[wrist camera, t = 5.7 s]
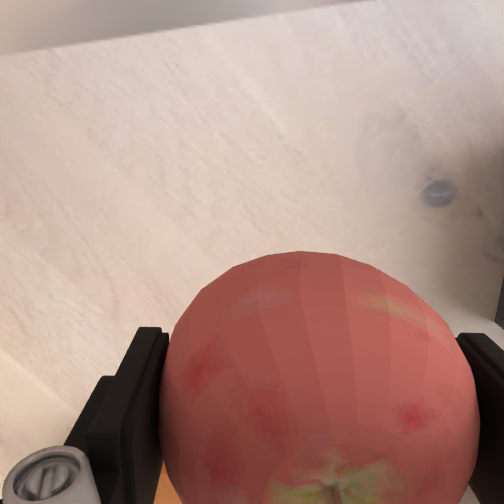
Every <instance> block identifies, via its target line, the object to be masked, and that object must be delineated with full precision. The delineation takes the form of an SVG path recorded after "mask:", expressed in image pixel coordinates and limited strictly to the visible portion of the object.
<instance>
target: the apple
mask: <svg viewBox="0 0 504 504" xmlns="http://www.w3.org/2000/svg"><path fill="white" fill-rule="evenodd" d="M158 434H159V439H160V444H161V449H162V454H163V459H164V463H165V467H166V471H167V475H168V478H169V480H170V481H171V483H172V485H173V487H174V489H175V491H176V493H177V495H178V497H179V498H180V500H181V502H182V504H458V503H459V502H460V500H461V498H462V496H463V494H464V492H465V490H466V487H467V485H468V483H469V480H470V478H471V475H472V473H473V471H474V468H475V464H476V460H477V455H478V445H479V435H480V413H479V407H478V401H477V394H476V388H475V381H474V377H473V374H472V371H471V367H470V365H469V364H468V362H467V360H466V358H465V356H464V354H463V352H462V350H461V349H460V347H459V345H458V343H457V341H456V340H455V338H454V336H453V334H452V332H451V331H450V329H449V327H448V325H447V324H446V322H445V321H444V320H443V319H442V317H441V316H440V315H439V314H438V313H437V312H435V311H434V310H433V309H432V308H431V307H430V306H428V305H427V304H426V303H425V302H424V301H423V300H422V299H421V298H420V297H419V296H417V295H416V294H415V293H414V292H413V291H412V290H411V289H410V288H409V287H408V286H406V285H404V284H402V283H400V282H399V281H397V280H395V279H393V278H392V277H390V276H388V275H387V274H385V273H383V272H381V271H380V270H378V269H376V268H375V267H373V266H371V265H368V264H365V263H362V262H359V261H356V260H352V259H349V258H346V257H343V256H340V255H337V254H328V253H317V252H305V251H296V252H288V253H280V254H273V255H266V256H263V257H260V258H257V259H254V260H251V261H249V262H246V263H243V264H240V265H237V266H234V267H232V268H231V269H229V270H228V271H227V272H225V273H224V274H222V275H221V276H220V277H218V278H217V279H215V280H214V281H213V282H211V283H210V284H208V285H207V286H206V287H204V288H203V289H201V291H200V292H199V293H198V295H197V296H196V297H195V299H194V300H193V301H192V303H191V304H190V305H189V307H188V308H187V309H186V311H185V312H184V313H183V315H182V316H181V318H180V319H179V321H178V322H177V324H176V325H175V328H174V330H173V333H172V336H171V339H170V343H169V346H168V350H167V353H166V357H165V361H164V364H163V368H162V374H161V379H160V384H159V418H158Z"/></svg>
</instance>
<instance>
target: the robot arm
mask: <svg viewBox="0 0 504 504" xmlns="http://www.w3.org/2000/svg"><path fill="white" fill-rule="evenodd" d="M455 340H456V341H457V343H458V345H459V347H460V349H461V350H462V352H463V354H464V356H465V358H466V360H467V362H468V364H469V365H470V367H471V371H472V374H473V377H474V381H475V388H476V394H477V401H478V407H479V413H480V435H479V445H478V455H477V460H476V464H475V468H474V471H473V473H472V475H471V478H470V480H469V483H468V484H469V485H470V487H471V489H472V490H473V492H474V494H475V495H476V497H477V499H478V500H479V502H480V504H504V351H503V350H502V349H501V348H500V347H499V346H498V345H497V344H496V343H494V342H493V341H492V340H491V339H490V338H489V337H488V336H487V335H485V334H484V333H460V334H459V335H458V337H457V338H455ZM168 346H169V334H168V333H162V330H161V327H139V328H138V330H137V332H136V334H135V336H134V338H133V340H132V342H131V344H130V346H129V348H128V350H127V352H126V354H125V356H124V358H123V360H122V362H121V364H120V366H119V368H118V370H117V372H116V374H115V376H102V377H101V378H100V380H99V381H98V383H97V385H96V387H95V389H94V390H93V392H92V394H91V396H90V398H89V399H88V401H87V403H86V405H85V407H84V409H83V410H82V412H81V414H80V416H79V418H78V419H77V421H76V423H75V425H74V427H73V429H72V430H71V432H70V434H69V436H68V438H67V440H66V441H65V443H64V445H63V446H53V447H49V448H45V449H42V450H39V451H37V452H35V453H32V454H30V455H29V456H27V457H26V458H24V459H23V460H21V461H20V462H19V463H18V464H17V465H16V466H15V467H14V468H13V469H12V470H11V471H10V472H9V474H8V475H7V477H6V479H5V480H4V484H3V490H2V496H3V499H1V500H0V504H154V499H155V495H156V491H157V487H158V482H159V478H160V474H161V470H162V465H163V461H164V459H163V454H162V449H161V444H160V439H159V434H158V418H159V384H160V379H161V374H162V368H163V364H164V361H165V357H166V353H167V350H168Z"/></svg>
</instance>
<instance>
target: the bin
mask: <svg viewBox="0 0 504 504" xmlns="http://www.w3.org/2000/svg"><path fill="white" fill-rule="evenodd" d="M495 323H496V324H498V325H499V326H500V327H502V328H503V329H504V279H503V284H502V289H501V294H500V299H499V304H498V309H497V314H496V319H495Z"/></svg>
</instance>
